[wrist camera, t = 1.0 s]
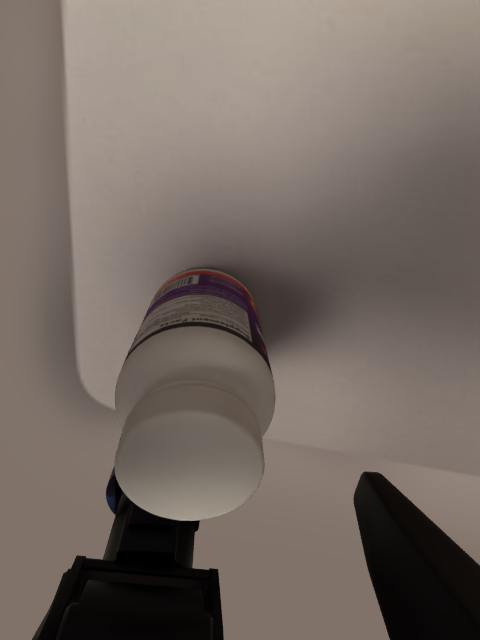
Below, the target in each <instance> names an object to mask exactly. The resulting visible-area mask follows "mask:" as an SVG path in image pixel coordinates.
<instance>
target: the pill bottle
mask: <svg viewBox="0 0 480 640" xmlns="http://www.w3.org/2000/svg"><path fill="white" fill-rule="evenodd" d="M115 405H116V412H117V415H118V419H119V421H120V424H121V426H122V428H123V430H122V434H121V438H120V441H119V445H118V449H117V452H116V456H115V475H116V478H117V481H118V484H119V485H120V487H121V489H122V491H123V492H124V493H125V494H126V496H127V497H128V498H129V499H130V500H131V501H132V502H134V503H135V504H136V505H137V506H139V507H140V508H142V509H144V510H146V511H148V512H150V513H152V514H154V515H157V516H160V517H164V518H168V519H174V520H180V521H198V520H205V519H210V518H215V517H218V516H221V515H224V514H227V513H229V512H231V511H233V510H235V509H236V508H238V507H240V506H241V505H243V504H244V503H245V502H246V501H247V500H248V499H249V498H250V497H251V496H252V495H253V494H254V492H255V491H256V490H257V488H258V487H259V485H260V482H261V480H262V476H263V473H264V454H263V444H262V436H263V435H264V434H265V432H266V431H267V429H268V427H269V425H270V422H271V420H272V417H273V413H274V407H275V387H274V381H273V376H272V372H271V367H270V363H269V359H268V355H267V351H266V346H265V342H264V338H263V333H262V329H261V325H260V320H259V315H258V311H257V308H256V305H255V302H254V300H253V297H252V296H251V294H250V292H249V291H248V290H247V289H246V287H245V286H244V285H243V284H242V283H241V282H240V281H238V280H237V279H236V278H234V277H232V276H231V275H228V274H226V273H224V272H221V271H218V270H213V269H193V270H188V271H185V272H182V273H179V274H177V275H175V276H174V277H172V278H171V279H169V280H168V281H167V282H165V283H164V284H163V286H162V287H161V288H160V289H159V290H158V292H157V293H156V295H155V296H154V298H153V300H152V302H151V304H150V306H149V309H148V311H147V313H146V315H145V318H144V320H143V322H142V324H141V327H140V329H139V331H138V333H137V335H136V337H135V339H134V342H133V344H132V346H131V348H130V350H129V352H128V355H127V357H126V359H125V362H124V364H123V367H122V369H121V372H120V374H119V377H118V380H117V385H116V391H115Z"/></svg>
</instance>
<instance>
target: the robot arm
mask: <svg viewBox="0 0 480 640" xmlns="http://www.w3.org/2000/svg"><path fill="white" fill-rule="evenodd" d="M354 506H355V510H356V516H357V520H358V525H359V530H360V535H361V539H362V544H363V549H364V554H365V558H366V562H367V567H368V571H369V574H370V577H371V581H372V584H373V587H374V590H375V593H376V597H377V600H378V603H379V606H380V609H381V613H382V616H383V619H384V622H385V625H386V629H387V632H388V635H389V638H390V640H480V565H478V564H477V563H476V562H475V561H474V560H473V559H472V558H471V557H470V556H469V555H468V554H467V553H466V552H465V551H463V550H462V549H461V548H460V547H459V546H458V545H457V544H456V543H455V542H454V541H453V540H452V539H451V538H450V537H449V536H447V535H446V534H445V533H444V532H443V531H442V530H441V529H440V528H439V527H438V526H437V525H436V524H435V523H433V522H432V521H431V520H430V519H429V518H428V517H427V516H426V515H425V514H424V513H423V512H422V511H421V510H419V509H418V508H417V507H416V506H415V505H414V504H413V503H412V502H411V501H410V500H409V499H408V498H407V497H405V496H404V495H403V494H402V493H401V492H400V491H399V490H398V489H397V488H396V487H395V486H394V485H392V484H391V483H390V482H389V481H388V480H387V479H386V478H385V477H384V476H383V475H382V474H380V473H378V472H363V473H362V475H361V477H360V480H359V482H358V485H357V488H356V490H355V494H354ZM199 523H200V520H198V521H180V520H174V519H168V518H164V517H160V516H157V515H154V514H152V513H150V512H148V511H146V510H144V509H142V508H140V507H139V506H137V505H136V504H135V503H134V502H132V501H131V500H130V499H129V498H128V497H127V496H126V494H125V493H124V492H123V491H122V489H121V487H120V485H119V484H118V481H117V478H116V475H115V519H114V522H113V526H112V529H111V533H110V536H109V540H108V543H107V547H106V550H105V554H104V557H103V560H100V559H90V558H86V556H78V555H77V556H76V558H75V561H74V563H73V565H72V568H71V569H68V571H67V572H65V573H64V574H63V576H62V579H61V582H60V584H59V587H58V590H57V592H56V595H55V598H54V600H53V602H52V604H51V606H50V609H49V610H48V612H47V614H46V616H45V617H44V619H43V621H42V623H41V624H40V626H39V628H38V630H37V631H36V633H35V635H34V637H33V638H32V640H223V639H224V638H223V622H222V610H221V599H220V586H219V576H218V575H219V574H218V569H211V568H210V569H209V570H204V569H194V568H192V564H193V550H194V535H195V532H196V531H198V529H199Z"/></svg>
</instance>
